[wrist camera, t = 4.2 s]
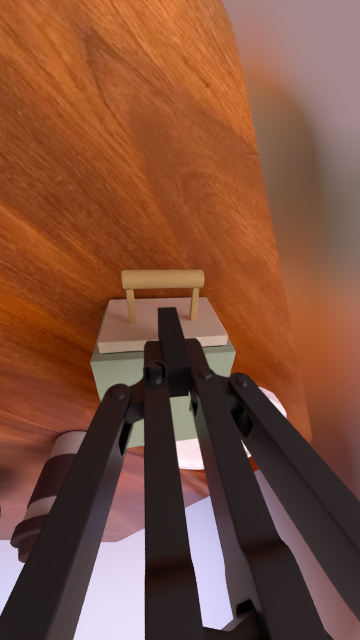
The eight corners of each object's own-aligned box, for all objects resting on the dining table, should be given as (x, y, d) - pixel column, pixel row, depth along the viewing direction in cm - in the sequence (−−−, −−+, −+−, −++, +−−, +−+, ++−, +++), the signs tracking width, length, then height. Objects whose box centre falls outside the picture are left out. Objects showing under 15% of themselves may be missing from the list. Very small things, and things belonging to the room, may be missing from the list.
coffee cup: (104, 424, 38) (86, 539, 26) (104, 451, 43) (89, 558, 31) (44, 426, 36) (-8, 554, 23) (51, 454, 41) (12, 571, 28)
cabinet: (106, 304, 25) (89, 362, 17) (207, 301, 27) (236, 351, 19) (120, 385, 33) (113, 450, 25) (197, 378, 35) (213, 436, 27)
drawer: (102, 253, 21) (84, 285, 14) (212, 254, 23) (240, 282, 16) (121, 379, 31) (116, 431, 24) (196, 373, 33) (209, 419, 26)
